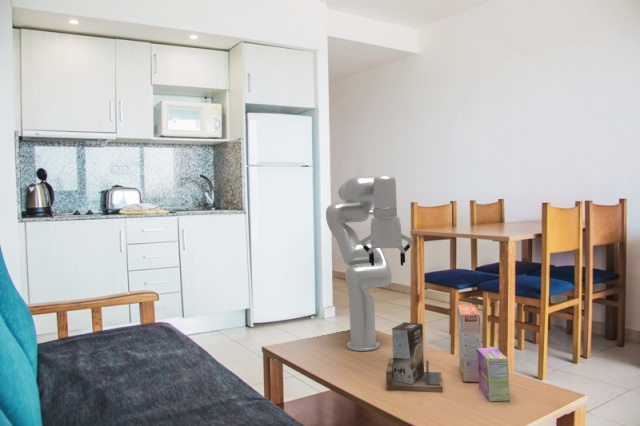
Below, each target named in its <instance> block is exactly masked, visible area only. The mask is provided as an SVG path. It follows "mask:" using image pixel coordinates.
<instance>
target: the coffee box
mask: <svg viewBox="0 0 640 426" xmlns="http://www.w3.org/2000/svg"><path fill="white" fill-rule="evenodd" d="M423 325H424V324H423V323H419V322H418V323H417V322H405V321H404V322H402V323H400V324H399V325H396V326H395V327H391V331H392V332H391V334H392V359H393V370H394V381H396V382H402V383H407V384H414V383H415V382H416V381H417V380H419V379H420V378H421V377H422V376H424V372H425V364H424V363H425V361H424V360H425V359H424V358H425V357H424V330H423V329H424V327H423Z"/></svg>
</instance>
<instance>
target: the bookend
mask: <svg viewBox="0 0 640 426" xmlns="http://www.w3.org/2000/svg"><path fill="white" fill-rule="evenodd" d="M429 364H430V362H429V360H425V372H426V385H433V386H440V380H439V372H440V371H439V372H437V371H430V365H429Z"/></svg>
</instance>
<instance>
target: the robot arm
mask: <svg viewBox="0 0 640 426" xmlns="http://www.w3.org/2000/svg"><path fill="white" fill-rule="evenodd" d="M396 182H397V181H396V178H395V177H394V176H393V175H382V176H359V177H358V176H356V177H352V178H348V179H347V180H346V182H344V183H342V184H341V185H340V186H339V188H338V191H337V192H338V193H337V194H338V197H339V198H340V199H341V202H335V203H331V204H330V205H328V206H327V208H326V210H325V220H326V223H327V226H328V229H329V231H330V232H331V234H332V236H333V237H334V238H335V240H336V242H337V246H338V248H339V252H340V254H341V257H342V260H343V262H344V264H345V265H346V266H348V267H347V268H346V270H345V276H344V277H345V281H346V286H347V293H348V307H349V328H350V341H347V343H346V347H347V349H348V350H350V351H355V352H369V351H375V350H377V349H379V348H381V343H380V341H378V340H376V339H377V338H376V317H375V316H376V314H375V299H374V297H373V295H372V294H371V293H370V292H369V291H368V289H374V288H375V289H376V288H384V287H387V286H389V285H390V284H391V282H392V280H393V279H392V276H393V275H392V271H391V268H390V265H389V263H388V260H387V257H386V256H385V252H384V251H383V249H398V250H399V251H400V255H399V256H400V259H399V260H400V266H404V264H405V263H406V252H408V250H409V249H410V248H411V246H412V244H413V242H414V239H413V238H412V237H409V236H407V235H404V234H402V232H403V231H402V226H401V225H402V224H401V220H400V217H398V212H397V210H398V209H397V208H398V207H397V205H398V204H397V183H396ZM371 215H372V216H373V217H372V218H371V221H370V234H369V235H368V236H367V237H365V238H363V239H361V240H360V239H359V237H358V234H357V232H356V231H355V230H354V229H353V227H351V226H349V224H350V223H361V222H366V221H367V220H368V218H369V217H370V216H371ZM347 223H349V224H347ZM403 240H404V241H407V244H406V245H405V247H404V246H403Z"/></svg>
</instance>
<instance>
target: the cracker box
mask: <svg viewBox="0 0 640 426" xmlns="http://www.w3.org/2000/svg"><path fill="white" fill-rule="evenodd" d="M457 321H458V325H457V326H458V329H457V330H458V359H459V360H458V361H459V362H458V365H459V371H460V375H461V376H460V377H461V380H462V382H463V383H464V382H465V383H479V376H478V358H477V348H482V344H481V343H482V342H481V341H482V338H481V314H480V312H479V310H478V308H477V306H476V304H458V305H457Z"/></svg>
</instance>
